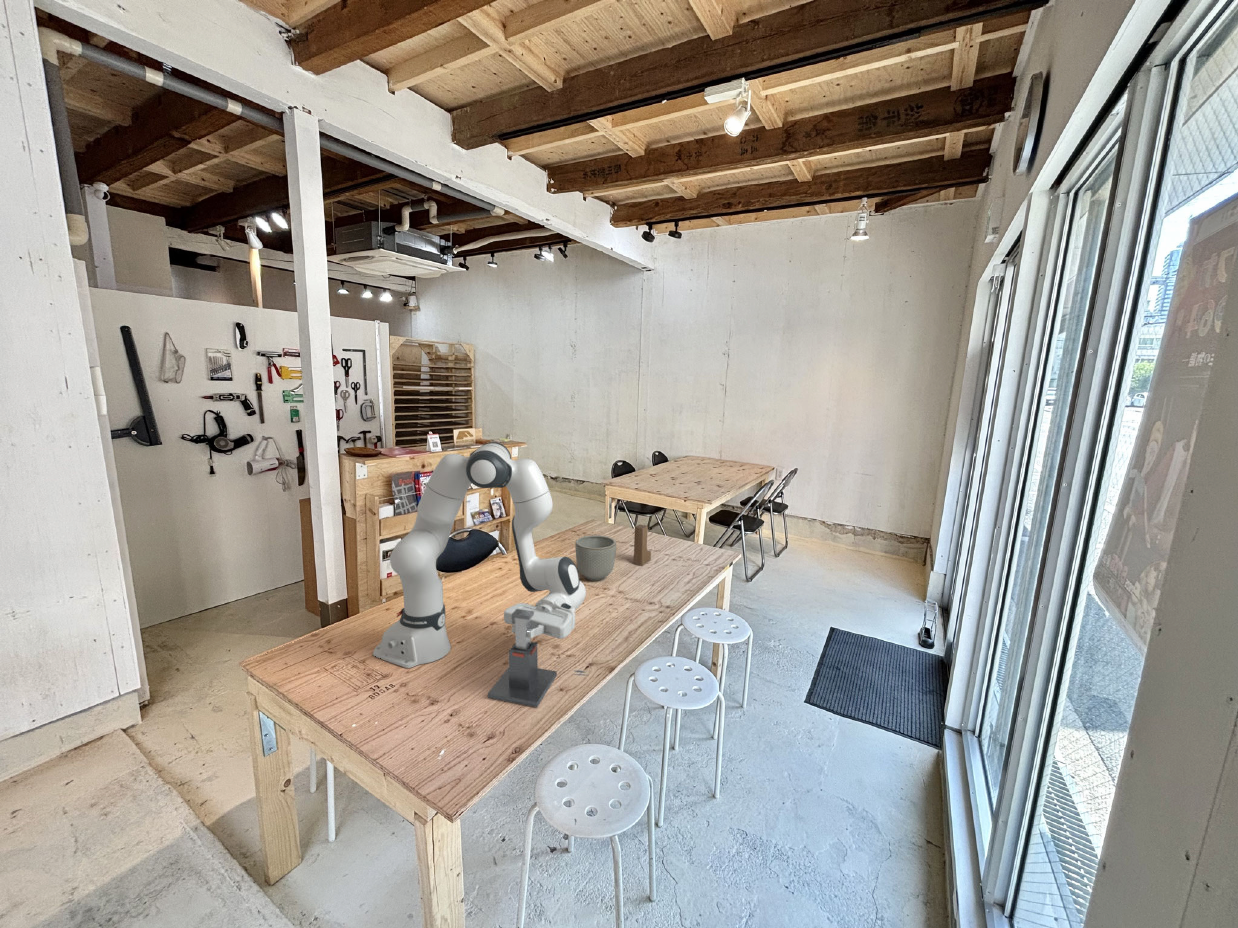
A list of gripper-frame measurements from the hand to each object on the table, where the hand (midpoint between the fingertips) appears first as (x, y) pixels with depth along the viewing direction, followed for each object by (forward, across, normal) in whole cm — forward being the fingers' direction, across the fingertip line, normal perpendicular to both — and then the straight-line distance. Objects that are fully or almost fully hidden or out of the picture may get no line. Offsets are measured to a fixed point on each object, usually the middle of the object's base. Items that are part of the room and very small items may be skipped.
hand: (521, 632), depth 132 cm
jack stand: (-1, 0, +16) cm, 17 cm away
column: (-1, 0, +15) cm, 15 cm away
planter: (-76, -18, +17) cm, 80 cm away
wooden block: (-102, -7, +17) cm, 103 cm away
